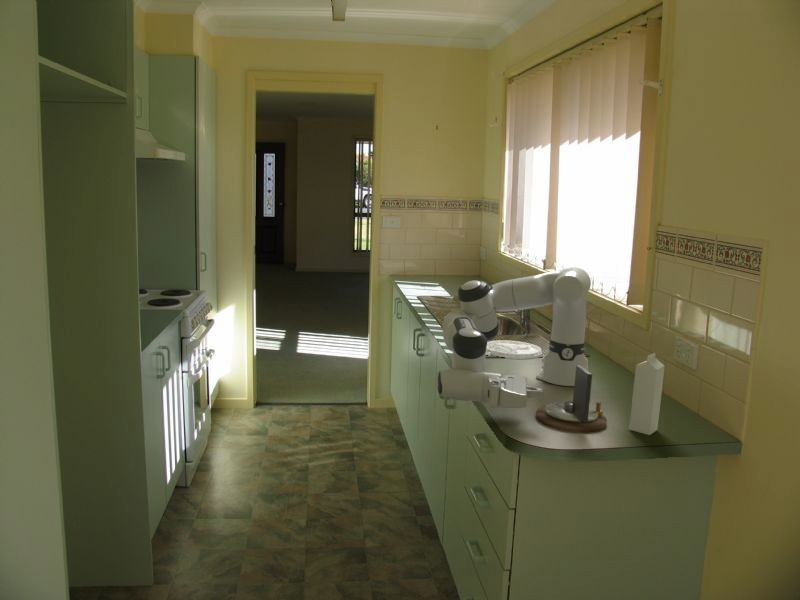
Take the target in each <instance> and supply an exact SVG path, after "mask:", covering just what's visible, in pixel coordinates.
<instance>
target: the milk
mask: <svg viewBox="0 0 800 600" xmlns="http://www.w3.org/2000/svg"><path fill="white" fill-rule="evenodd" d="M665 367H666V366H665V364H663V363H662V362H660V361H659V360H658V359H657V358H656V353H655V352H654V353H652V354H649V355H648V356H647V357H646V360H645V361H642V362H640V363H638V364H636V365H635V373H634V379H633V381H634V382H633V388H632V389H633V390H632V398H631V399H632V400H631V409H630V417H629V425H628V426H629V427H628V429H629V430H630V431H633V432H637V433H640V434H644V435H648V436H651V435H652V434H653V433H655V432H656V431H658V427H659V417H660V410H661V409H660V408H661V401H662V395H663V394H662V392H663V385H664V383H663V382H664V376H665V375H664V374H665V369H666V368H665Z"/></svg>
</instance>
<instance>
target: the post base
mask: <svg viewBox="0 0 800 600" xmlns="http://www.w3.org/2000/svg"><path fill="white" fill-rule="evenodd" d="M601 404H602V402H601V401H596V405H595V410H601ZM546 405H547V404H546ZM546 405H542V406H539V407H537V409H536V410H535V419H536V420H537V421H538V422H539V423H540V422H541V423H540V424H541V425H544V426H546V427H549V428H552V429H555V430H559V431H565V432H569V433H595V432H600V431H602V430H604V429H606V427H607V418H606V416H605V415H604V414H603V415H598V419H597V420H596V421H594V422H590V423H570V422H564V421H560V420H556V419H554V418H551V417H549V416H548V415H547V414H546V413H545V406H546Z"/></svg>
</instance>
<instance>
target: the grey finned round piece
mask: <svg viewBox="0 0 800 600" xmlns="http://www.w3.org/2000/svg"><path fill="white" fill-rule="evenodd" d="M592 381H593V374H592V372H590V371H589V370H588V369H587V370H586V369H585V368H583V367H582V366H581V365H576V374H575V385H574V386H573V394H572V395H573V398H572V400H571V401H570V400H569V401H560V402H559V401H557V402H550V403H548V404H546V406H545V405H544V406H545V413H546V414H547V415H548V416H549V417H551V418H554V419H556V420H560V421H564V422H570V423H590V422H594V421H596V420H597V419H598V415H604V414H603V413H604V412H603V410H602V409H600V410H596V408H593V407H591V406H590V401H591V391H592V390H591V389H592V383H593V382H592ZM591 382H592V383H591Z"/></svg>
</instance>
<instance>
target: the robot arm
mask: <svg viewBox="0 0 800 600" xmlns="http://www.w3.org/2000/svg"><path fill="white" fill-rule="evenodd" d="M591 282H592V281H591V278H590V276H589V274H588V272H587V271H585V270H584V269H582V268H580V267H568V268H564V269H563V268H562V269H558V270H553V271H549V272H548V271H547V272H545V273H539V274H535V275H529V276H524V277H518V278H513V279H511V278H510V279H507V280H502V281H499V282H497V283H493V284H490V283H487V282H486V281H483V280H480V279H479V280H478V279H473V280H468V281H466V282H464V283H462V284H461V285H460V286H459V288H457V289H458V290H457V296H458V300H459V303H460V304H459V305H460V309H459V310H458V309H457V310H456V309H455V310H451V311H450V312H448V313H447V314H446V315H445V317H444V319H443V323H442V338H443V341H444V344H445V346H446V347H447V349H448V350H449V351H450V352H452V362H451V365H452V366H451V367H450V368H449V369H446V368H445V369H441V370H439V371H438V374H437V392H438V394H439V396H441V397H443V398H446V399H451V400H456V401H462V402H470V401H475V402H478V403H481V404H486V405H488V406H489V408H491V409H498V408H499V407H500V408H504V409H505V408H506V409H507V408H508V409H523V408H526V407H527V400H528V399H534V398H543V397H544V388H541V387H540V388H539V387H535V386H532V385H528V377H527V376H525V375H515V374H503V375H502V373H500V372H491V371H485V369H486V368H485V367H486V357H487V356H486V348H487V342H490V341H492V340H493V339H495V338H496V337H497V335H498V334H499V332H500V324H499V322H498V321H499V320H498V317H497V312H514V311H523V310H528V309H535V308H541V307H542V308H543V307H545V306H550V305H552V322H551V323H552V324H551V325H552V326H551V337H550V339H549V343H548V352H547V353H546V354H544V356H543V357H542V359H541V364H542V365H541V369H540V370H539V371H538V373H537V374H536V377H535V378H536V379H538V380H541V381H544V382H547V383H550V384H553V385H557V386H565V387H574V385H575V374H576V365H581V366H582V367H583V368H585V369H586V370H587V371H588V367H589V365H588V364H589V359H588V358H587V357H586V356H585V354H584V353H585V349H586V343H585V334H586V333H585V332H586V325H587V299H588V293H589V291H590V289H591V287H592V286H591V285H592V284H591ZM592 383H593V382H591V384H592ZM527 398H528V399H527Z"/></svg>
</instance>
